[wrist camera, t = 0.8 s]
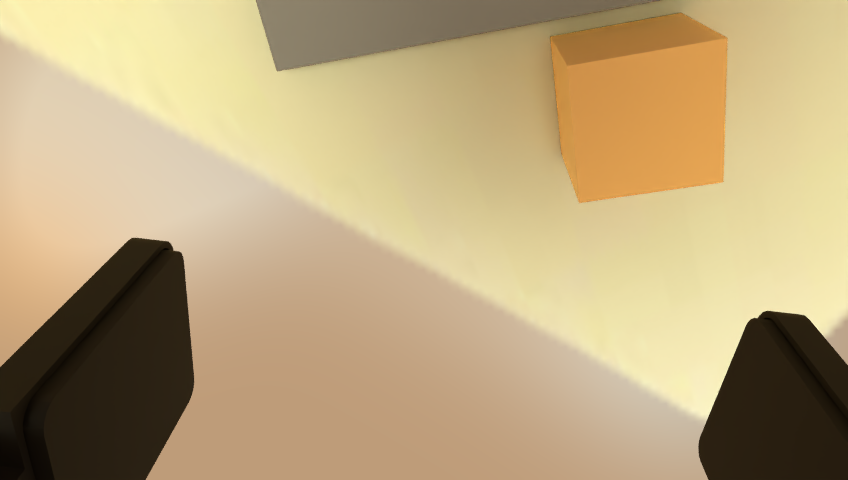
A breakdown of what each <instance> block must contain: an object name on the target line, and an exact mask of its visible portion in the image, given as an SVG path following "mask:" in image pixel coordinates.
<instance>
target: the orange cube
mask: <svg viewBox="0 0 848 480" xmlns="http://www.w3.org/2000/svg"><path fill="white" fill-rule="evenodd" d="M550 40H551V50H552V61H553V71H554V81H555V92H556V102H557V112H558V123H559V133H560V143H561V154H562V157H563V159H564V162H565V165H566V168H567V170H568V173H569V176H570V179H571V182H572V184H573V187H574V190H575V193H576V195H577V198H578V201H579V203H582V202H589V201H596V200H602V199H609V198H616V197H623V196H630V195H637V194H644V193H651V192H658V191H665V190H672V189H679V188H686V187H693V186H700V185H707V184H714V183H721V182H723V175H724V140H725V106H726V71H727V38H726V37H725V36H723V35H721V34H719V33H717V32H715V31H714V30H712V29H710V28H708V27H706V26H704V25H703V24H701V23H699V22H697V21H695V20H693V19H692V18H690V17H688V16H686V15H684V14H682V13H677V14H671V15H666V16H660V17H655V18H649V19H644V20H638V21H633V22H627V23H622V24H616V25H611V26H605V27H600V28H594V29H589V30H583V31H578V32H572V33H567V34H561V35H556V36H551V37H550Z"/></svg>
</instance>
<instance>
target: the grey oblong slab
mask: <svg viewBox="0 0 848 480" xmlns="http://www.w3.org/2000/svg"><path fill="white" fill-rule="evenodd" d="M653 1H659V0H256V3H257V6H258V9H259V13H260V16H261V19H262V23H263V26H264V29H265V33H266V36H267V39H268V43H269V46H270V50H271V53H272V56H273V60H274V63H275V66H276V70H277V71H282V70H287V69H293V68H298V67H303V66H309V65H314V64H320V63H325V62H330V61H336V60H341V59H347V58H352V57H357V56H363V55H368V54H373V53H379V52H384V51H390V50H395V49H400V48H406V47H411V46H417V45H422V44H427V43H433V42H438V41H443V40H449V39H454V38H460V37H465V36H470V35H476V34H481V33H487V32H492V31H497V30H503V29H508V28H513V27H519V26H524V25H530V24H535V23H540V22H546V21H551V20H557V19H562V18H567V17H573V16H578V15H583V14H589V13H594V12H600V11H605V10H610V9H616V8H621V7H627V6H632V5H637V4H643V3H648V2H653Z"/></svg>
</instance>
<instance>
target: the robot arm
mask: <svg viewBox="0 0 848 480" xmlns="http://www.w3.org/2000/svg"><path fill="white" fill-rule="evenodd" d="M193 387H194V372H193V361H192V349H191V338H190V327H189V315H188V304H187V293H186V282H185V269H184V260H183V256H182V253H181V252H178V251H173V247H172V245H171V244H170V243H169V242H167V241H159V240H150V239H142V238H131V239H130V240H128V241H127V242H126V243H125V244H124V245H123V246H122V247H121V248H120V249H119V250H118V251H117V252H116V253H115V254H114V255H113V256H112V257H111V258H110V259H109V260H108V261H107V262H106V263H105V264H104V265H103V266H102V267H101V268H100V269H99V270H98V271H97V272H96V273H95V274H94V275H93V276H92V277H91V278H90V279H89V280H88V281H87V282H86V283H85V284H84V285H83V286H82V287H81V288H80V289H79V290H78V291H77V292H76V293H75V294H74V295H73V296H72V297H71V298H70V299H69V300H68V301H67V302H66V303H65V304H64V305H63V306H62V307H61V308H60V309H59V310H58V311H57V312H56V313H55V314H54V315H53V316H52V317H51V318H50V319H48V320H47V321H46V322H45V323H44V325H43V326H41V328H39V329H38V330H37V331H36V332H35V333H34V334H33V335H32V336H31V337H30V338H29V339H28V340H27V341H26V342H25V343H24V344H23V345H22V346H21V347H20V348H19V349H18V350H17V351H16V352H15V353H14V354H13V355H12V356H11V357H10V358H9V359H8V360H7V361H6V362H5V363H4V364H3V365H2V366H1V367H0V480H146V478H147V476H148V474H149V472H150V471H151V469H152V467H153V465H154V464H155V462H156V460H157V458H158V456H159V455H160V453H161V451H162V449H163V448H164V446H165V444H166V442H167V440H168V439H169V437H170V435H171V433H172V431H173V430H174V428H175V426H176V424H177V422H178V421H179V419H180V417H181V415H182V413H183V412H184V410H185V408H186V406H187V404H188V403H189V400H190V398H191V395H192V392H193ZM699 457H700V461H701V463H702V465H703V468H704V470H705V473H706V475H707V477H708V479H709V480H848V365H847V364H846V363H845V362H844V360H843V359H842V358H841V357H840V356H839V354H838V353H837V352H836V351H835V350H834V348H833V347H832V346H831V345H830V344H829V342H828V341H827V340H826V339H825V338H824V337H823V335H822V334H821V333H820V332H819V331H818V329H817V328H816V327H815V326H814V325H813V323H812V322H811V321H810V320H809V319H808V318H807V317H806V316H804V315H799V314H791V313H782V312H773V311H765V312H763V313H762V314H761V315H760V316H759V317H758V318H753V319H751V320H750V321H749V322H748V323H747V325H746V327H745V330H744V332H743V334H742V337H741V339H740V342H739V344H738V347H737V349H736V351H735V354H734V356H733V359H732V361H731V364H730V366H729V368H728V371H727V373H726V376H725V378H724V381H723V383H722V385H721V388H720V390H719V393H718V395H717V398H716V400H715V402H714V405H713V407H712V410H711V412H710V415H709V417H708V419H707V422H706V424H705V427H704V429H703V432H702V434H701V436H700V440H699Z"/></svg>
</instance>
